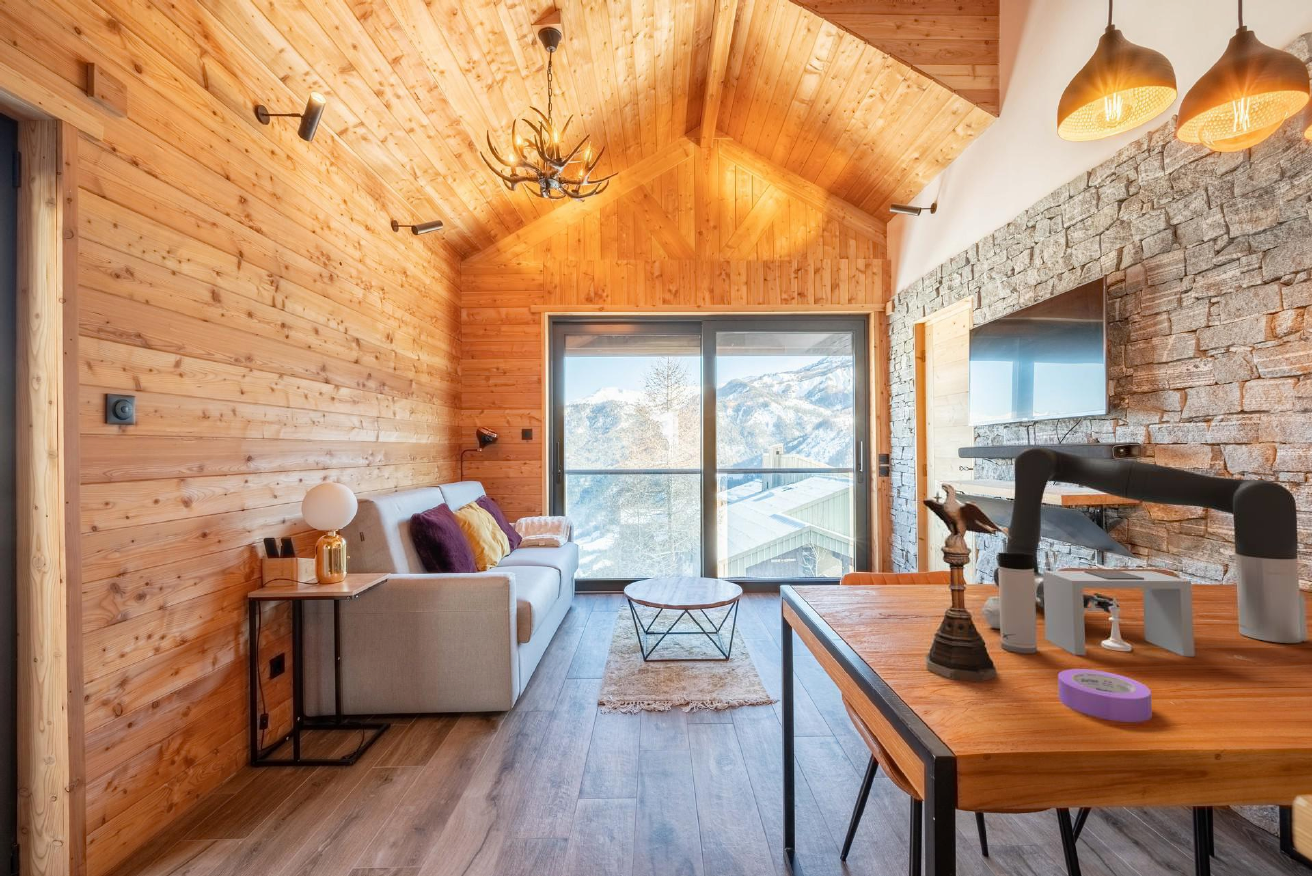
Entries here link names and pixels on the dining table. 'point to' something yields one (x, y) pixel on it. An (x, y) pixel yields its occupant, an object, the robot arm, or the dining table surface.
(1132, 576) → the pad
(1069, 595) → the bridge
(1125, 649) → the chess piece
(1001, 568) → the travel mug
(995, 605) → the frog figurine
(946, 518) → the bird statue
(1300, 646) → the dining table surface
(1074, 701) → the masking tape
